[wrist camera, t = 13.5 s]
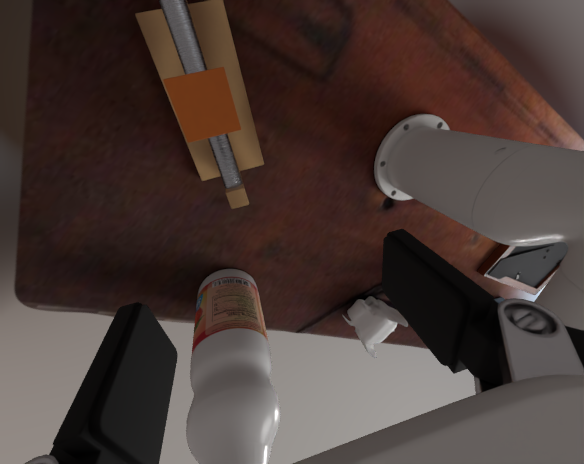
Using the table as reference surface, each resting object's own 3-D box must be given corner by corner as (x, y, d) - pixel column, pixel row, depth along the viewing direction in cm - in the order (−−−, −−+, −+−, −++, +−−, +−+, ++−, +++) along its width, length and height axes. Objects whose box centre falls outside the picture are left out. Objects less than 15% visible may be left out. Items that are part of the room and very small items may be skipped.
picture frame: (476, 271, 56) (527, 290, 67) (484, 276, 55) (535, 296, 65) (545, 193, 50) (590, 228, 60) (556, 196, 48) (601, 232, 58)
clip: (222, 72, 21) (223, 66, 16) (236, 122, 23) (241, 129, 18) (174, 82, 20) (162, 79, 16) (193, 132, 23) (187, 143, 18)
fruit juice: (265, 295, 44) (322, 534, 20) (216, 318, 43) (215, 589, 20) (241, 257, 39) (279, 516, 15) (185, 283, 38) (135, 590, 15)
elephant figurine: (358, 280, 48) (384, 315, 40) (395, 297, 53) (424, 331, 46) (328, 314, 50) (347, 353, 43) (366, 327, 56) (389, 364, 48)
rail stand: (222, 1, 24) (225, -67, 14) (262, 162, 32) (283, 194, 22) (137, 16, 23) (74, -45, 13) (202, 178, 32) (195, 219, 21)
